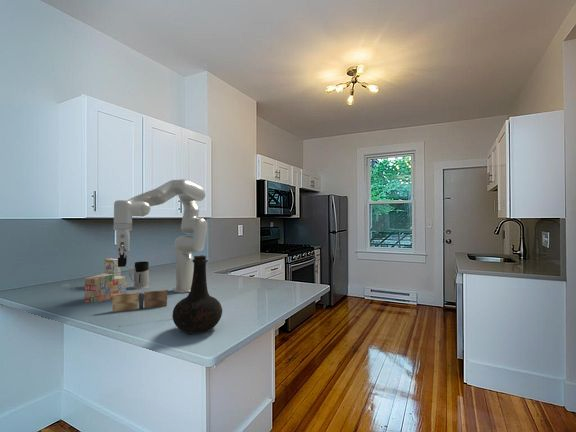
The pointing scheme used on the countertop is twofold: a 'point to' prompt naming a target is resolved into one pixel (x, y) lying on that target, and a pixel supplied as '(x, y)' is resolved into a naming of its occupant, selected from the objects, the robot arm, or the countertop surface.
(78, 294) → the countertop surface
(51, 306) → the countertop surface
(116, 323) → the countertop surface
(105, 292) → the stack of blocks
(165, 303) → the fixed fence panel
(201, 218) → the robot arm
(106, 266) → the candy bar box
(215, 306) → the glass bottle
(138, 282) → the white and black mug
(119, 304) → the panel
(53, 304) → the countertop surface
